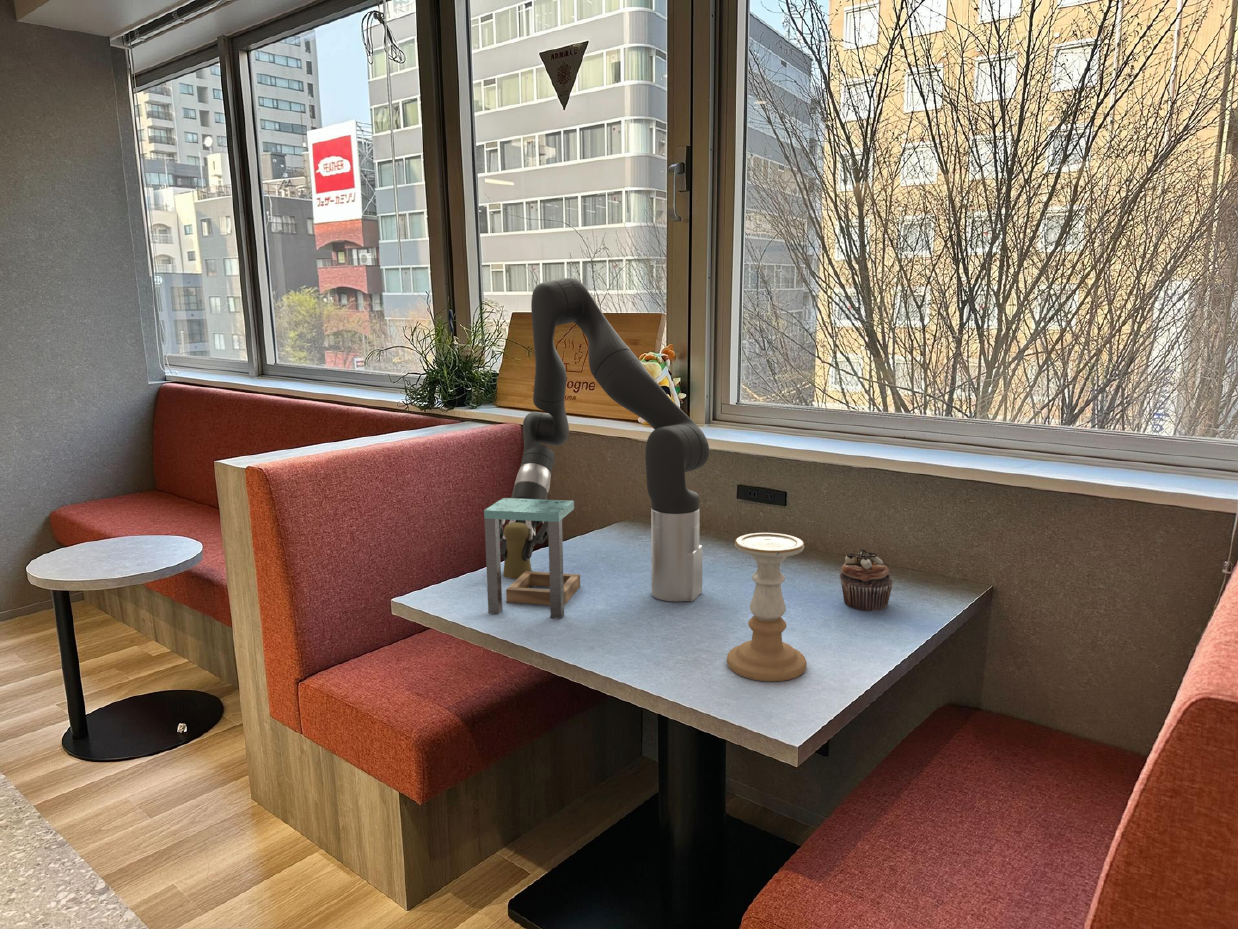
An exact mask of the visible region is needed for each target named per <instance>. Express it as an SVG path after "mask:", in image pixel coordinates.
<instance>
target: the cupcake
mask: <svg viewBox="0 0 1238 929" xmlns="http://www.w3.org/2000/svg"><path fill="white" fill-rule="evenodd" d="M844 561H845V562H844V564H842V566H841V568H840V570H841V572H840V575H839V580H840V584H841V589H842V597H843V602H844V605H845V606H847V607H848V608H850V609H851V608H852V609H854V610H858V611H862V612H864V611H866V612H879V611H882V610H883V611H884V610H885V609H887V608H888V605H889V600H890V596H891V592H892V589H893V586H894V580H893V579H892V578H891V576H890V574H889V573H890V569H889V568H888V567H887V566H886V565H885V564H884V562H883V560H882V559H880V557H879V556H878V555H877V553H876V552H868V551H866V550H865V549H860V551H859V552H858V553H847V554H846V556H845V560H844Z"/></svg>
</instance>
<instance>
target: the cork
mask: <svg viewBox="0 0 1238 929" xmlns="http://www.w3.org/2000/svg"><path fill="white" fill-rule="evenodd" d="M503 534H504V536H505V538H506V539H507V542H506V546H507V554H506V560H504V561H503V562H504V564H503V573H502V574H503V577H505V578H507V579H515V580H517V579H518V578H519V577H520V576H521V575H522V574H523V573H524V572H525V571H532V572H533V570H532V565H531V558H530V559H528V561H524V560H523V558H522V553H523V549H524V545H525V541H527V537H528V534H529V529H528V527H527V525H526V524H524V523H519V522H515V523H510V524H508V523H507V524H506V525H505V526H504V527H503Z"/></svg>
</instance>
